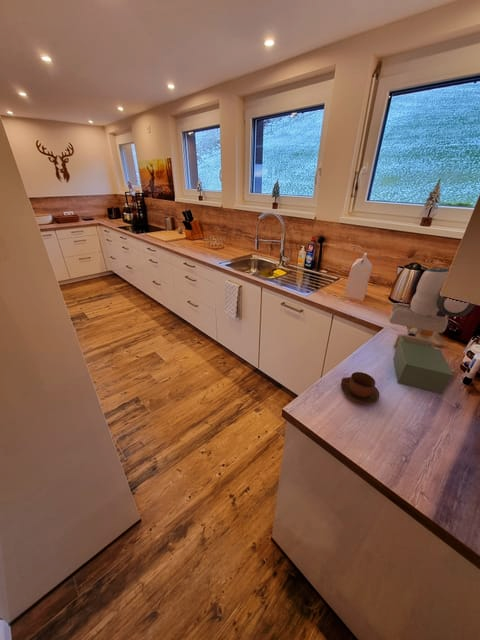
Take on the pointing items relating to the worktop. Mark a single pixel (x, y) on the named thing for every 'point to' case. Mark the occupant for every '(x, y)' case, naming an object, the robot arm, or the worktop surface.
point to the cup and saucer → (360, 388)
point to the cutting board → (431, 338)
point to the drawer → (412, 341)
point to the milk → (358, 279)
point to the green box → (421, 367)
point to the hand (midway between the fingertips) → (410, 335)
